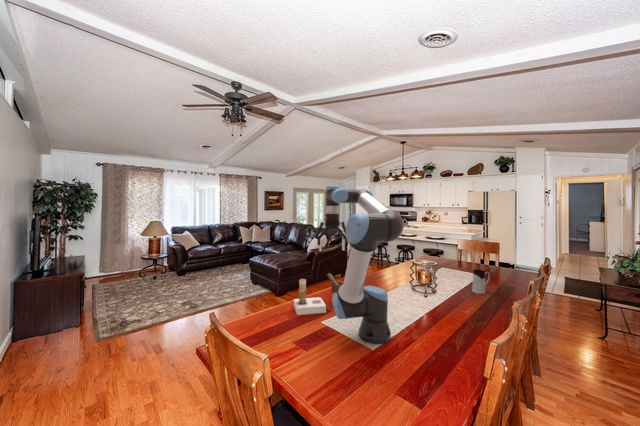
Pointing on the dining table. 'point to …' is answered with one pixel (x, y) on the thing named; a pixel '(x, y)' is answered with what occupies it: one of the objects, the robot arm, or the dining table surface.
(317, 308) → the board
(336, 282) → the mortar and pestle
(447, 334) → the dining table surface
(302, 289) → the leg peg
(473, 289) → the grey mug
